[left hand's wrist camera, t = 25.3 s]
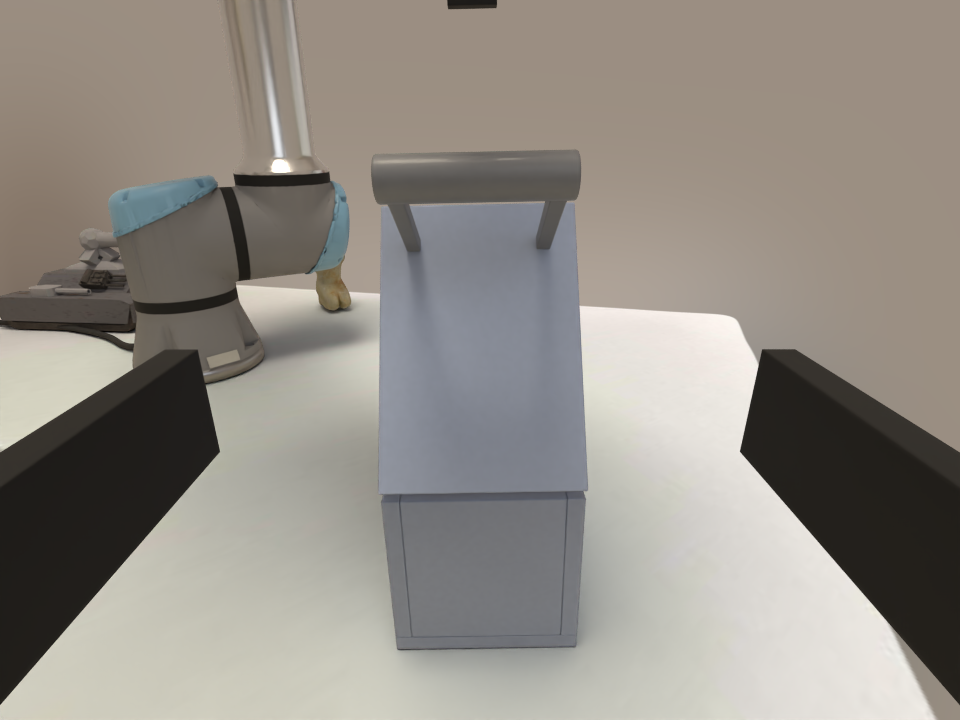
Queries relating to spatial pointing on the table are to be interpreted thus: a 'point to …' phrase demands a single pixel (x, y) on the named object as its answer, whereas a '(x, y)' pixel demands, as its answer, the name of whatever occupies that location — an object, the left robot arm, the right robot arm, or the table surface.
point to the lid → (479, 324)
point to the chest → (484, 568)
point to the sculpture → (332, 288)
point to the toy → (77, 292)
